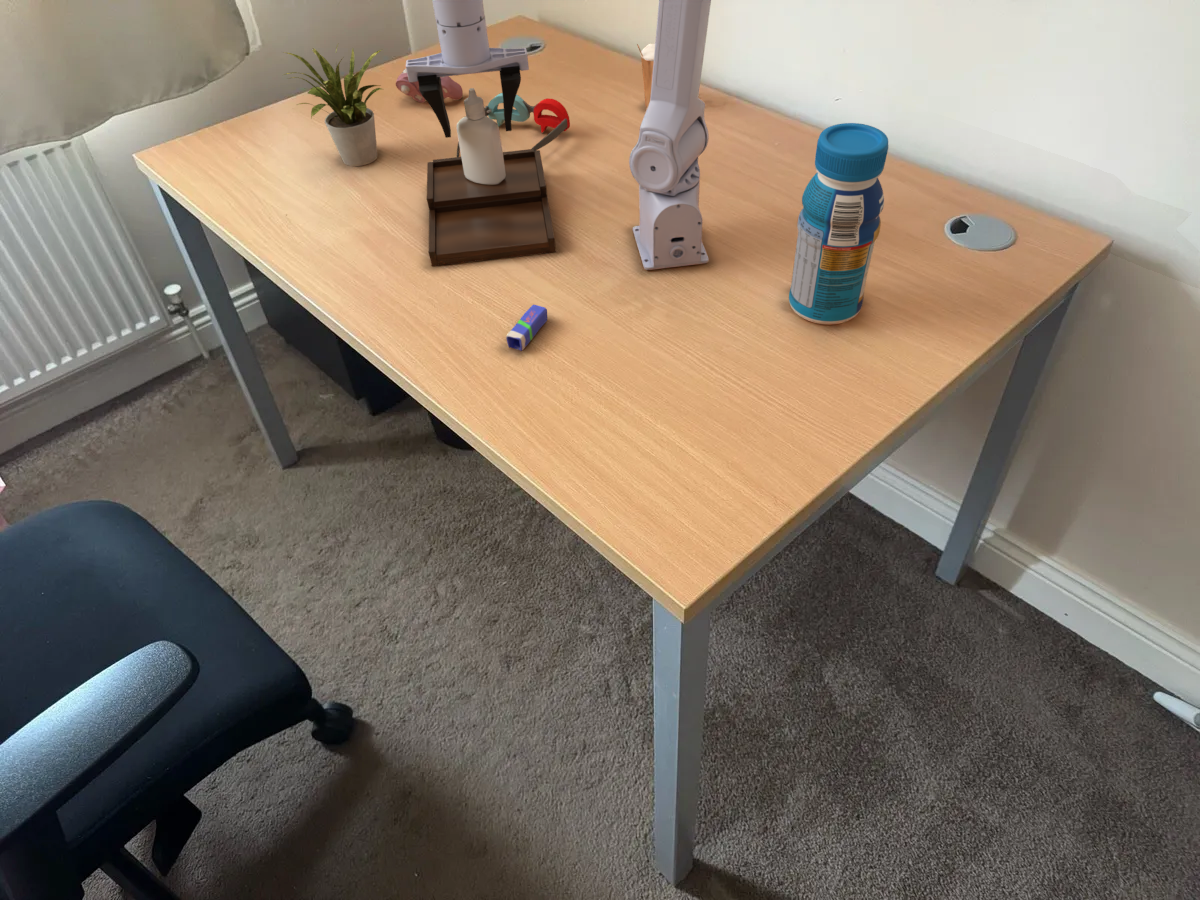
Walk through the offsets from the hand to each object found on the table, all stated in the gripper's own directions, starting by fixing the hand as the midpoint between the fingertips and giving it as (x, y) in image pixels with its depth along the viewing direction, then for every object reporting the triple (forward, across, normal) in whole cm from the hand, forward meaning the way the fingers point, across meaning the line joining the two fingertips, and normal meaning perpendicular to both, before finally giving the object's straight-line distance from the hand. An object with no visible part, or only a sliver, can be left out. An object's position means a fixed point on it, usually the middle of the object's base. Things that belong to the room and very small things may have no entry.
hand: (478, 130), depth 108 cm
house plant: (+10, +20, -17) cm, 29 cm away
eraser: (+10, -3, +30) cm, 32 cm away
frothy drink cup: (+10, -27, -24) cm, 37 cm away
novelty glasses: (+10, -4, -15) cm, 19 cm away
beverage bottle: (+11, -37, +31) cm, 49 cm away
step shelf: (+10, 0, +4) cm, 11 cm away
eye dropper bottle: (+7, 0, -1) cm, 7 cm away
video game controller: (+10, +8, -34) cm, 37 cm away
